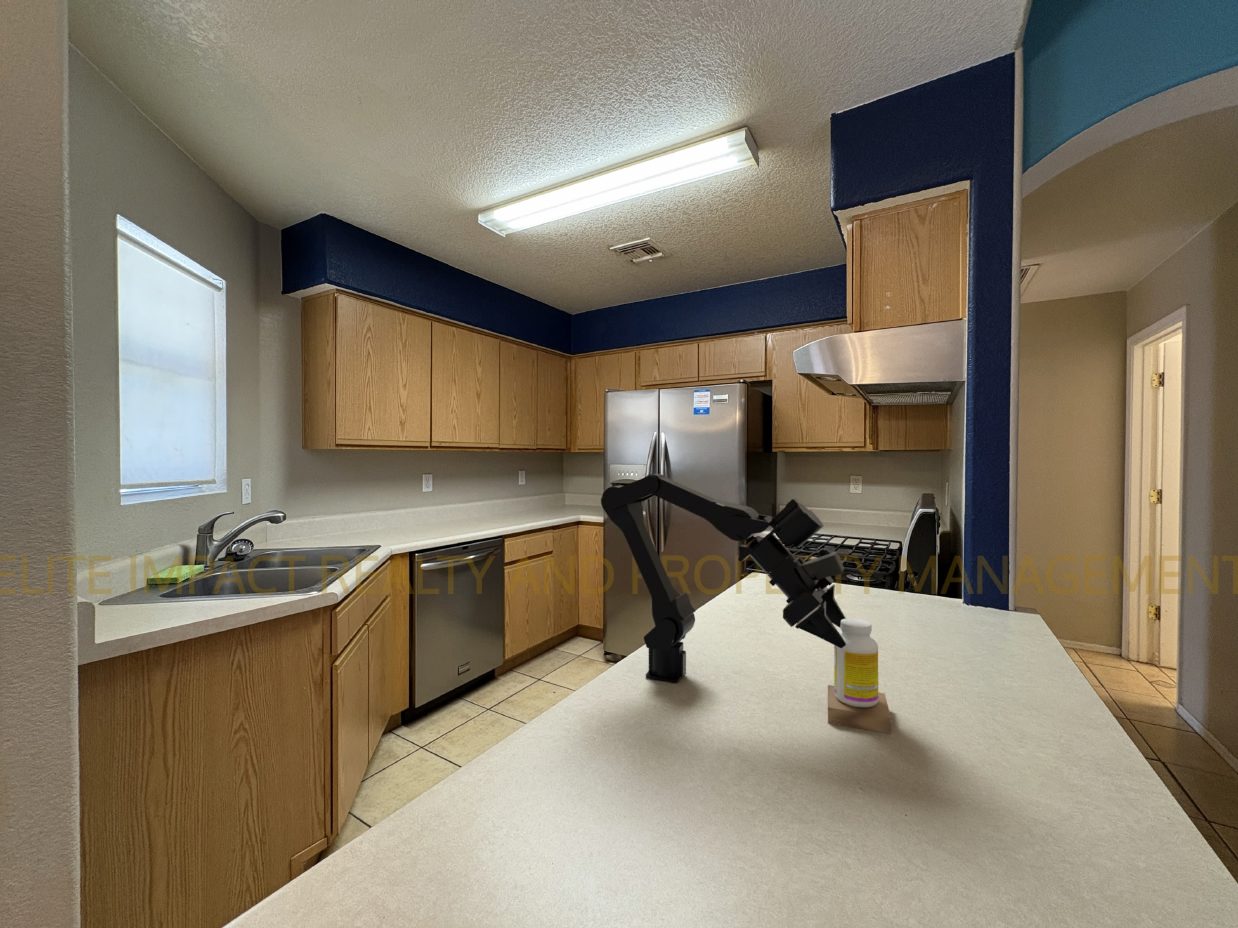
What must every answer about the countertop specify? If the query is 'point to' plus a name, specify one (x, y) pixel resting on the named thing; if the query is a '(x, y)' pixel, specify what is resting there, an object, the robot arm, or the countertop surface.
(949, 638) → the countertop surface
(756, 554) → the robot arm
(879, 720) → the walnut block
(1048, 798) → the countertop surface
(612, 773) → the countertop surface
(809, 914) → the countertop surface
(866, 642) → the supplement bottle
